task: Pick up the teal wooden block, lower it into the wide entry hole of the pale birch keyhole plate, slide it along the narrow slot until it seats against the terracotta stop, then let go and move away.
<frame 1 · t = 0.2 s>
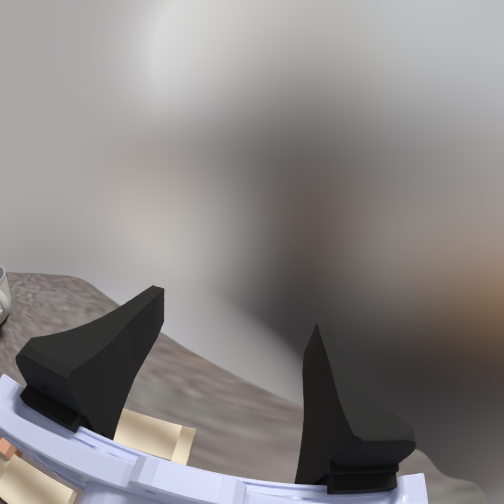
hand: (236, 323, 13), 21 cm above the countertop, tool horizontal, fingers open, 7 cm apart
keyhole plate: (83, 470, 19), on the countertop
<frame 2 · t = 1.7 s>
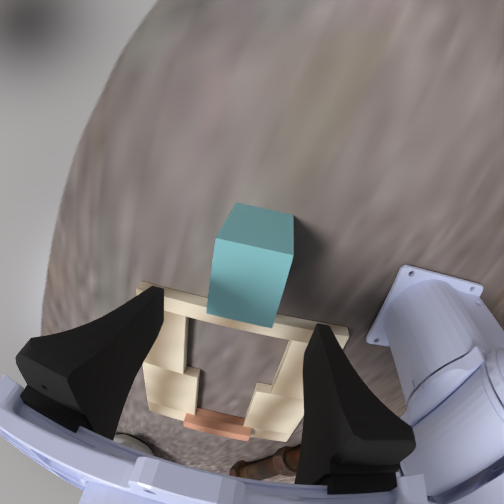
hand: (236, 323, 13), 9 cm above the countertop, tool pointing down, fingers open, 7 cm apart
bolt: (275, 453, 37), on the countertop
slider block: (257, 240, 21), on the countertop
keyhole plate: (228, 379, 29), on the countertop
teacup: (134, 439, 42), on the countertop
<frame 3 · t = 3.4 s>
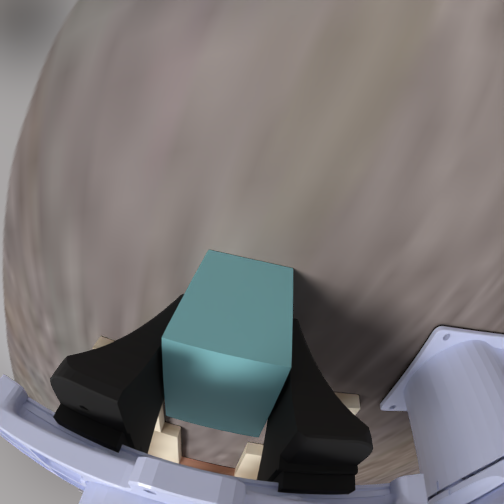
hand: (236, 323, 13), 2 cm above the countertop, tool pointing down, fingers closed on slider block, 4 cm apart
slider block: (241, 301, 15), on the countertop, touching gripper
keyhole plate: (213, 437, 22), on the countertop
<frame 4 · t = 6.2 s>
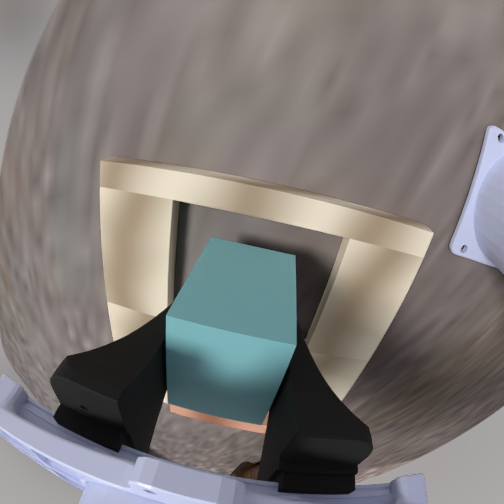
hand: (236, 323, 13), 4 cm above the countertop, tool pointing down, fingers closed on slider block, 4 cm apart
bolt: (286, 448, 28), on the countertop
slider block: (244, 290, 15), point 2 cm above the countertop, touching gripper
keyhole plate: (237, 330, 19), on the countertop
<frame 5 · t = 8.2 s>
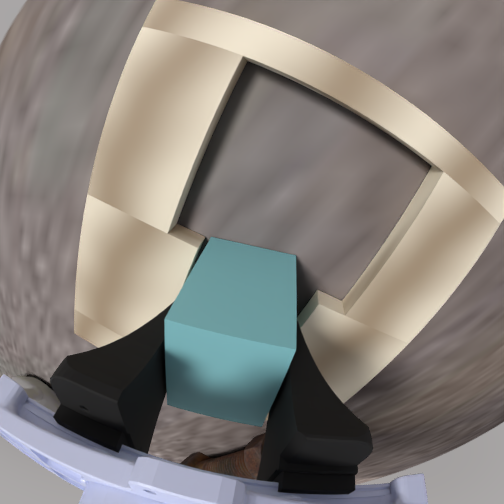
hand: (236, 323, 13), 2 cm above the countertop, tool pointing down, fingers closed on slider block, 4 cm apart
bolt: (250, 443, 24), on the countertop
slider block: (244, 289, 15), resting in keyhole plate, touching gripper
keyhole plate: (258, 272, 14), on the countertop
teacup: (50, 389, 26), on the countertop
when the fingers open (2 cm above the countertop, at t = 10.3 s): slider block stays where it is, resting in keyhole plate.
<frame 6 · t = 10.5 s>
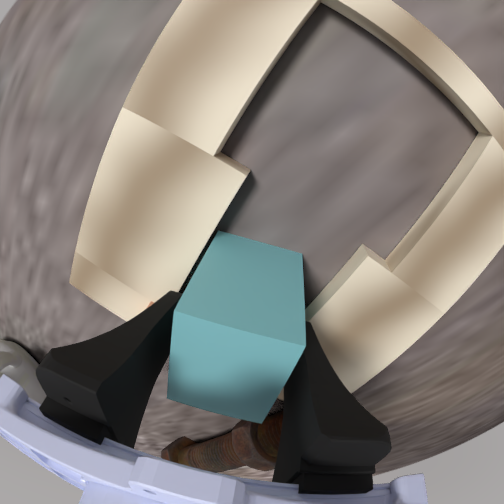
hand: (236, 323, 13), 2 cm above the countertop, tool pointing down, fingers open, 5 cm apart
bolt: (240, 426, 22), on the countertop
slider block: (247, 285, 15), resting in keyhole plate
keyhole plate: (303, 216, 13), on the countertop
teacup: (29, 357, 23), on the countertop
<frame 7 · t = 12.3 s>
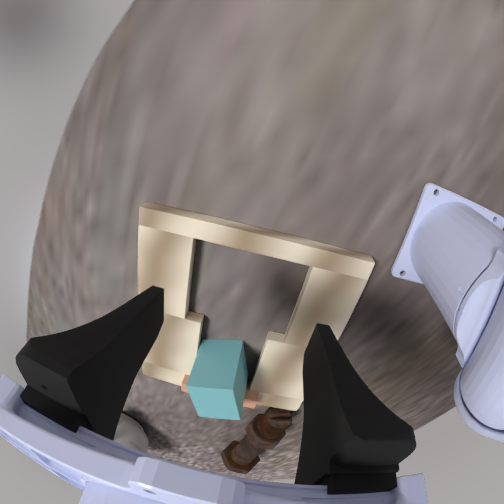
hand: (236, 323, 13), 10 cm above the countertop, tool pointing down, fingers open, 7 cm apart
bolt: (259, 425, 35), on the countertop
slider block: (226, 357, 29), resting in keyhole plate
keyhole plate: (235, 326, 27), on the countertop
teacup: (125, 416, 39), on the countertop
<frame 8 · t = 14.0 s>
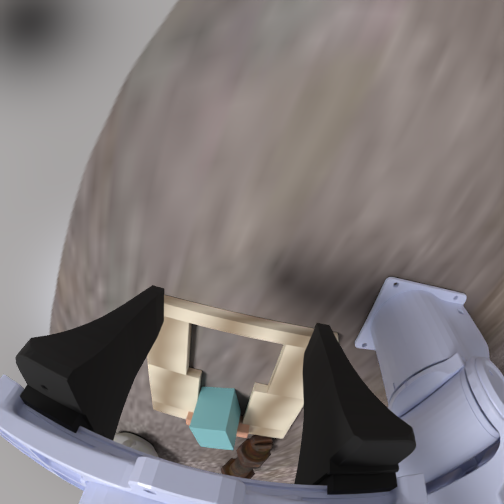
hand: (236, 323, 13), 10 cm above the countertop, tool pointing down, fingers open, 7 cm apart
bolt: (250, 446, 40), on the countertop
slider block: (222, 399, 33), resting in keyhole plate
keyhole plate: (227, 379, 31), on the countertop
teacup: (138, 437, 44), on the countertop
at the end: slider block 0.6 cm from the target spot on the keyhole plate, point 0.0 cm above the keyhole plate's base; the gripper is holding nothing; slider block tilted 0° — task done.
